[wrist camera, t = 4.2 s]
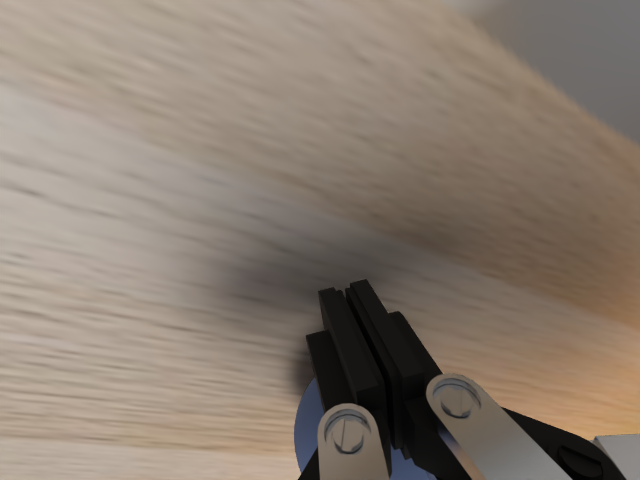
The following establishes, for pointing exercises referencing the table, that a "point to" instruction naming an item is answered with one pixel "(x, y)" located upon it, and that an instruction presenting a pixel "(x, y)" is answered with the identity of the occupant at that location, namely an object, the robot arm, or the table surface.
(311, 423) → the blue ball
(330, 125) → the table surface
